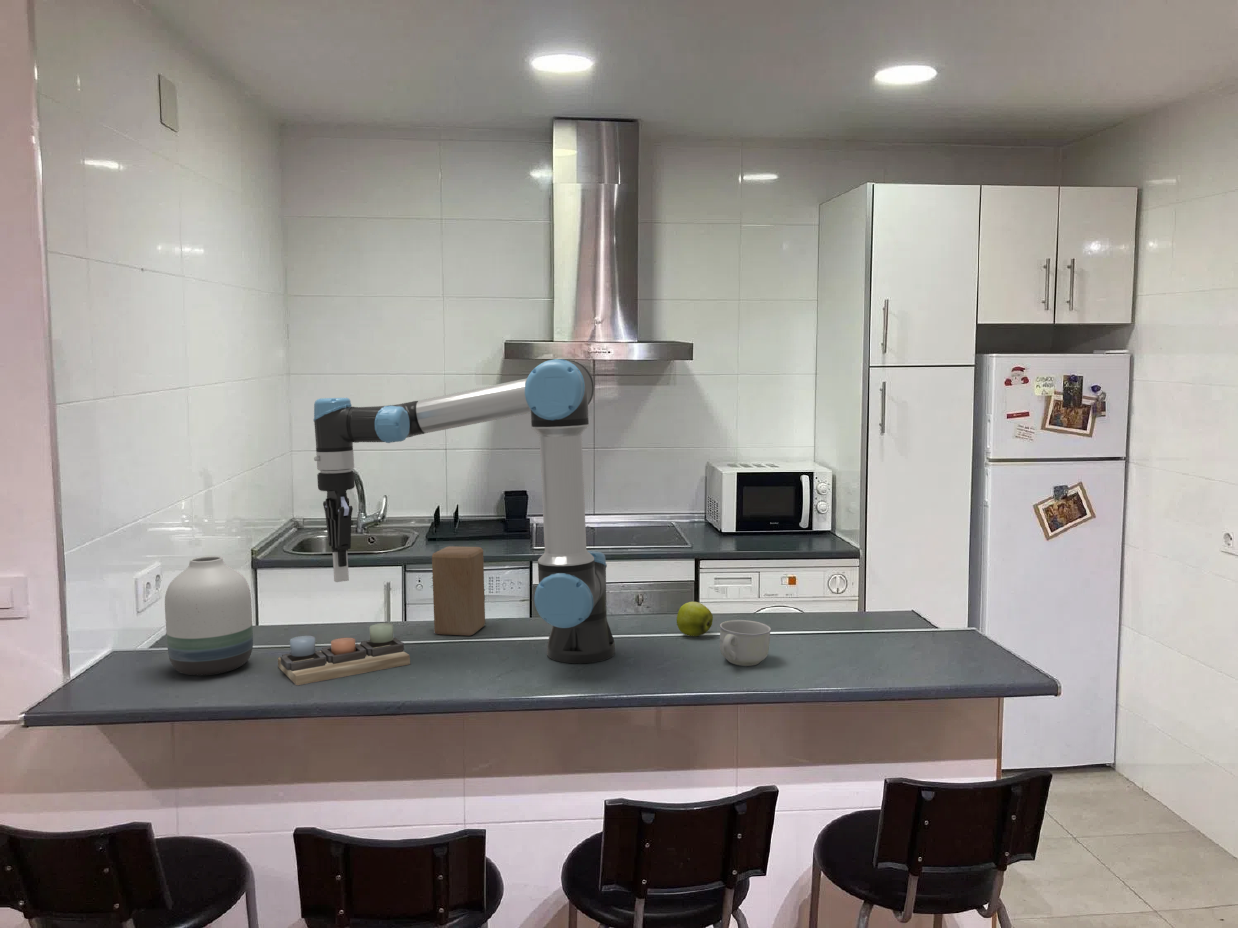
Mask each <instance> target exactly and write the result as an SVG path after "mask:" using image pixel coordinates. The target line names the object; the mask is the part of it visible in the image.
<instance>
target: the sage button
mask: <svg viewBox="0 0 1238 928" xmlns="http://www.w3.org/2000/svg"><path fill="white" fill-rule="evenodd" d="M393 638H394V625H393V624H392V623H389V622H388V623H387V622H386V623H384V622H382V623H375V624H371V625H369V640H370V641H371V642H373V643H384V642H389V641H392V640H393Z"/></svg>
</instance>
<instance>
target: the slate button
mask: <svg viewBox="0 0 1238 928" xmlns="http://www.w3.org/2000/svg"><path fill="white" fill-rule="evenodd" d="M289 647H290V649H289V651H290V653H291V655H292V656H308V655H312V654H314V653H315V652H316V651H317V649H316V637H315V636H312V635H299V636H295V637H292V638H290V639H289Z"/></svg>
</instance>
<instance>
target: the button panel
mask: <svg viewBox="0 0 1238 928" xmlns="http://www.w3.org/2000/svg"><path fill="white" fill-rule="evenodd" d="M355 648H356V652H350V653H344V654H338V655H334V654H332V653H331V646H327V647H322V648H321V650H316V652H315V653H314V654H312V655H308V656H292V655H291V652H290V653H285V654H282V655H281V656H279V657H278V658H277V667H278V669H279V670H281V671H282V673H283V674H285V676H286V677H287V678H288V679H290V681H291V682H293V683H294V685H295V686H302V685H306V684H307V685H308V684H311V683H318V682H323V681H327V680H328V681H329V680H333V679H339V678H343V677H344V678H345V677H349V676H355V675H359V674H365V673H370V672H376V671H381V670H387V669H392V668H393V669H394V668H397V667H402V666H408V665H411V657H410V654H408V653H407V652H405V643H404V642H403V641H401V640H400V639H399V638H397V637H393V640H392V641H389V642H384V643H373V642H371V641H370V639H368V640H363V641H360V643H355Z"/></svg>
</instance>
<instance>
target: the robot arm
mask: <svg viewBox="0 0 1238 928" xmlns="http://www.w3.org/2000/svg"><path fill="white" fill-rule="evenodd" d="M594 396H595V381H594V378H593V376H592V374H591V372H590V371H589V370H588V368H587V367H586V366H584V365H583V364H582V363H579V361H578V362H577V361H575V360H570V359H562V358H561V359H560V358H559V359H557V358H555V359H548V360H546V361H543V362H542V363H540V364H538V365H537V366H536V367H534V368H533V369H532V370H531V371H530V373H529V374H528V376H527V378H523V379H518V380H517V379H515V380H511V381H508V382H503V383H498V384H493V385H487V386H483V387H478V388H473V389H467V390H463V391H457V392H453V393H447V394H443V395H438V396H433V397H429V398H428V397H427V398H424V399H419V400H413V401H408V402H403V403H398V404H388V405H378V406H377V405H376V406H375V405H374V406H352V402H351V399H350V398H348V397H323V398H322V397H321V398H317V399H316V400H315V401H314V405H313V406H314V407H313V409H314V410H313V422H314V423H313V425H314V433H315V434H314V438H315V446H316V447H315V452H316V453H315V454H316V456H314V457H313V460H314V461H315V462H316V468H317V471H318V473H317V474H316V476H317V489H318V490H319V491H322V492H326V498H325V500H324V501H322V502H323V503H322V505H323V510H324V515H325V522H326V531H327V539H328V545H329V547H331V552H332V565H333V566H332V567H333V581H334V582H335V583H340V582H341V583H342V582H348V581H350V580H349V579H350V577H349V575H350V574H349V559H348V558H349V557H348V551H349V550H350V549H351V547H352V545H351V544H352V515H353V506H352V505H350V499H349V498H348V493H347V491H348V490H353V489H355V486H356V482H355V481H356V480H355V472H354V471H352V470H353V469H355V460H354V459H355V456H354V445H353V444H355V443H356V444H357V443H387V444H391V443H396V442H397V443H398V442H399V443H400V442H404V441H405V440H406V439H407V438H408V439H409V438H412V437H415V436H420V435H421V436H422V435H425V434H430V433H434V432H435V433H436V432H439V431H445V430H450V429H456V428H460V427H461V428H462V427H467V426H471V425H476V424H481V423H487V422H492V421H493V422H494V421H498V420H502V419H507V418H513V417H519V416H523V415H527V414H528V415H529V414H530V420H531V421H530V422H531V423H530V424H531V429H532V430H533V431H534V432H535V433H537V435H538V436H539V450H540V451H539V452H540V474H541V477H540V478H541V496H542V498H541V500H542V516H543V517H542V520H543V539H544V540H543V542H544V552H543V554H542V555H541V556H540V557H539V558H538V559H537V570H538V571H537V573H538V574H537V575H538V577H537V578H538V584H537V585H536V589H535V591H534V597H533V598H534V606H535V609H536V612H537V614H538V615H539V617H540V618H541V619H542V620H543V621H544V622H546V623H547V624H549V625H551V629H550V633H549V637H548V640H547V643H546V655H547V657H548V658H549V659H551V660H553V661H555V662H561V663H568V664H589V663H597V662H602V661H606V660H608V659H610V658H612V657H614V655H615V654H616V643H615V639H614V636H613V633H612V631H611V627H610V624H609V621H608V617H607V613H608V612H607V567H608V566H607V563H606V561H607V560H606V555H605V553H603V552H601V551H593V550H587V535H586V533H587V532H586V531H587V530H586V529H587V527H586V508H585V507H586V506H585V483H584V482H585V481H584V457H583V432H585V431H586V429H588V427H589V426H590V424H589V405H590V403H591V402H592V400H593V398H594Z"/></svg>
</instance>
